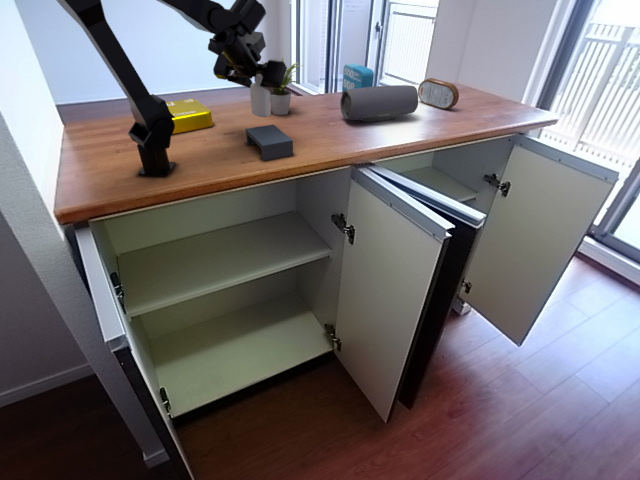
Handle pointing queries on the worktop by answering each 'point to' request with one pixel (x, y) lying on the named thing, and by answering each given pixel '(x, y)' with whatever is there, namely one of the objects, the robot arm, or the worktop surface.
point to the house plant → (282, 94)
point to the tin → (438, 93)
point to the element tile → (189, 115)
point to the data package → (357, 77)
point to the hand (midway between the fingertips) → (262, 88)
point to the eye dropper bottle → (259, 98)
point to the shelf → (270, 141)
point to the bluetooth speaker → (378, 102)
